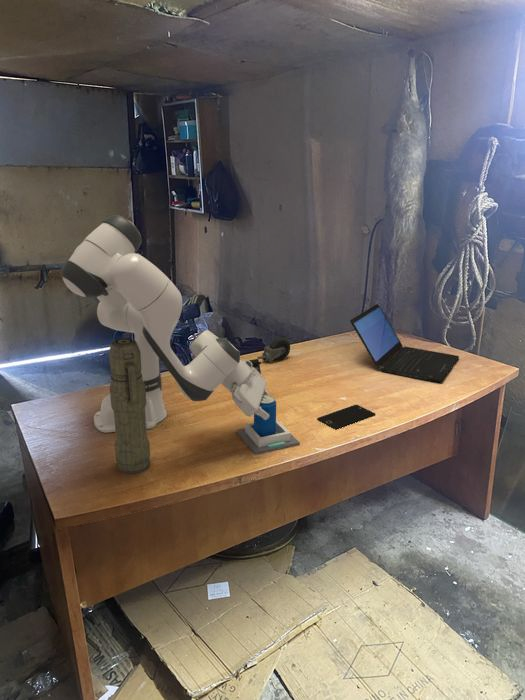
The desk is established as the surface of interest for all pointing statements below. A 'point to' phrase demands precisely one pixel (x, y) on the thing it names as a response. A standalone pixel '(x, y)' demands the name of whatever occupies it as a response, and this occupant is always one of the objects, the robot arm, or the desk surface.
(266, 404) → the beverage can
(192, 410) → the desk surface
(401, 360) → the laptop
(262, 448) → the charging dock
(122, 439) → the thermos
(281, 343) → the caster wheel
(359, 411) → the cell phone
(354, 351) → the desk surface
